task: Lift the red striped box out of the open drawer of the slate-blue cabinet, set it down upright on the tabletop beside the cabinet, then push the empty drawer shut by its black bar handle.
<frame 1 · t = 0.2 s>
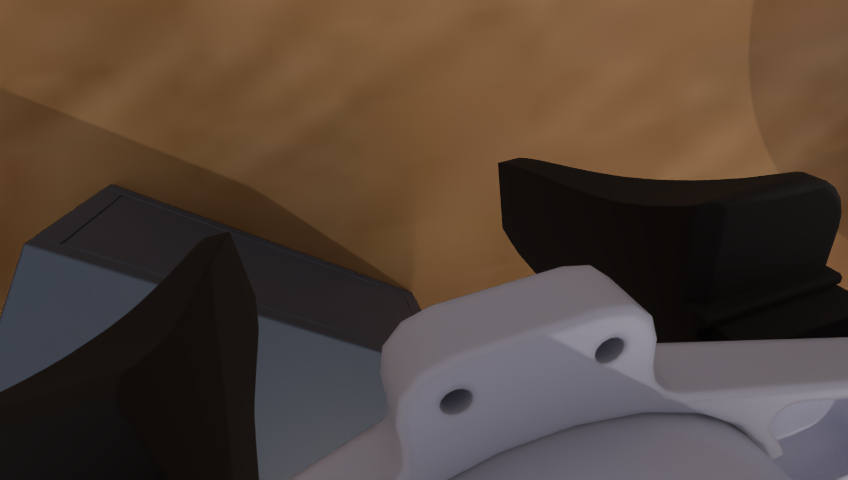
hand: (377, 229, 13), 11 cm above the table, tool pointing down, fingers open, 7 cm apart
cabinet: (230, 353, 25), on the table
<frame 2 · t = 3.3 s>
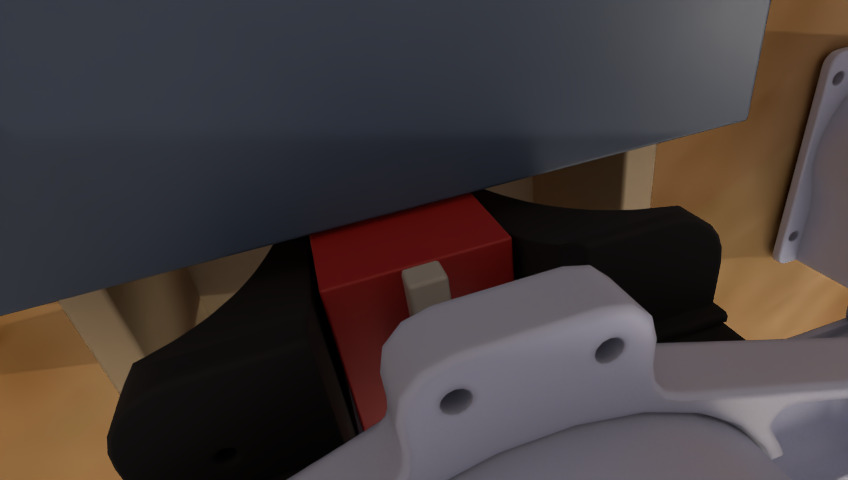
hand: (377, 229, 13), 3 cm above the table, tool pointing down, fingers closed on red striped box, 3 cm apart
drawer: (386, 266, 13), point 4 cm above the table, slide at 6.0 cm, touching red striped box
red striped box: (366, 205, 14), point 2 cm above the table, touching drawer, gripper
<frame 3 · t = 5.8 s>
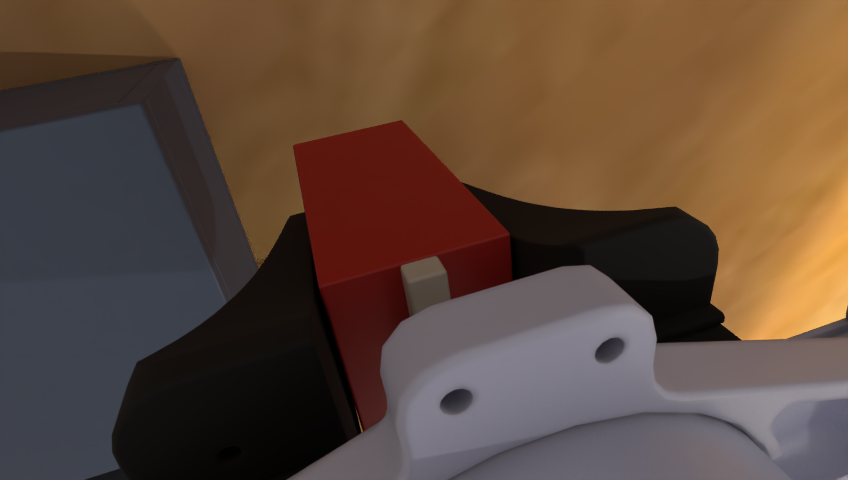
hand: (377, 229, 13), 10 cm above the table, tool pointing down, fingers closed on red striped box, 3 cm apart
drawer: (139, 456, 23), point 4 cm above the table, slide at 6.0 cm
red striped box: (365, 207, 14), point 9 cm above the table, touching gripper
cabinet: (60, 241, 21), on the table
when the fingers open (2 cm above the table, at t = 8.5 s): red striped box stays where it is, on the table.
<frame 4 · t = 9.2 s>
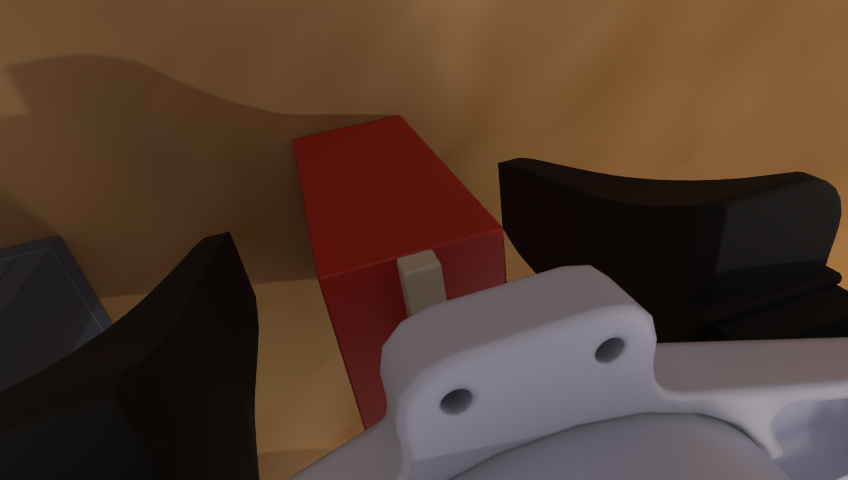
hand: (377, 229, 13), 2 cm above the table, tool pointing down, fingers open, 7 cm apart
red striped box: (364, 201, 15), on the table
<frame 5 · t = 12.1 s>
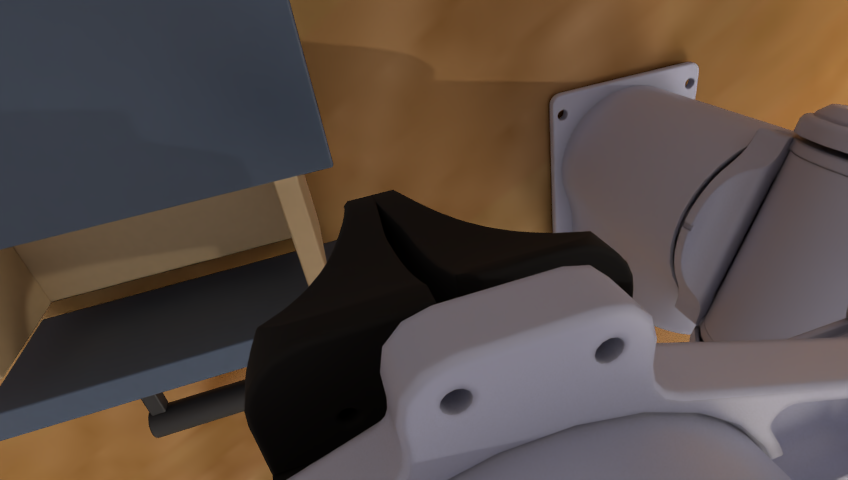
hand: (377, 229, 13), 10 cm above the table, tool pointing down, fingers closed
drawer: (160, 262, 19), point 4 cm above the table, slide at 6.0 cm
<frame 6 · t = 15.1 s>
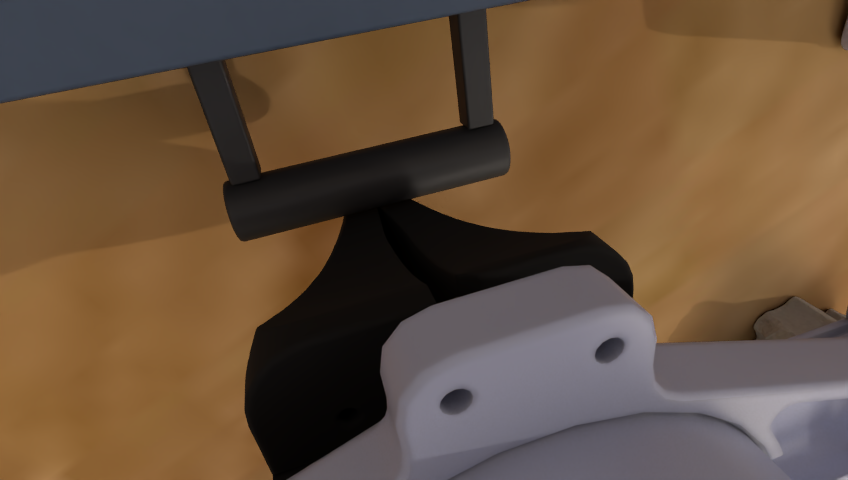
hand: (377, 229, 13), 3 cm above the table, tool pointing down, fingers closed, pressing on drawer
egg carton: (753, 375, 28), on the table
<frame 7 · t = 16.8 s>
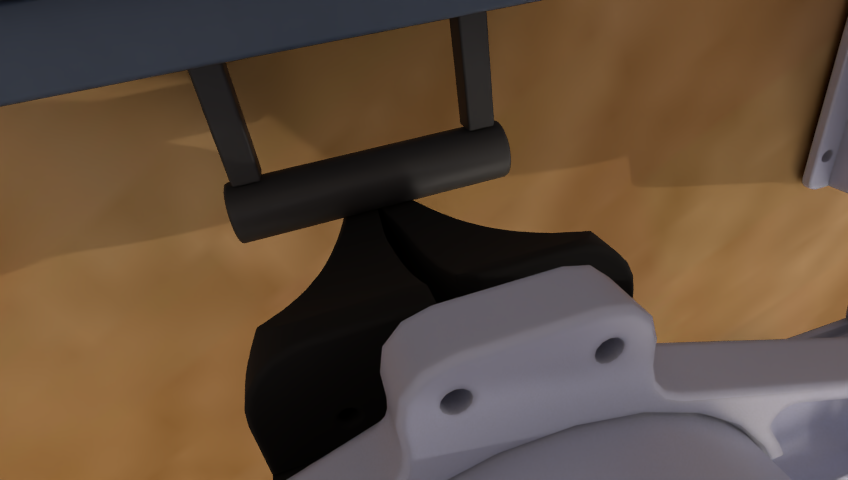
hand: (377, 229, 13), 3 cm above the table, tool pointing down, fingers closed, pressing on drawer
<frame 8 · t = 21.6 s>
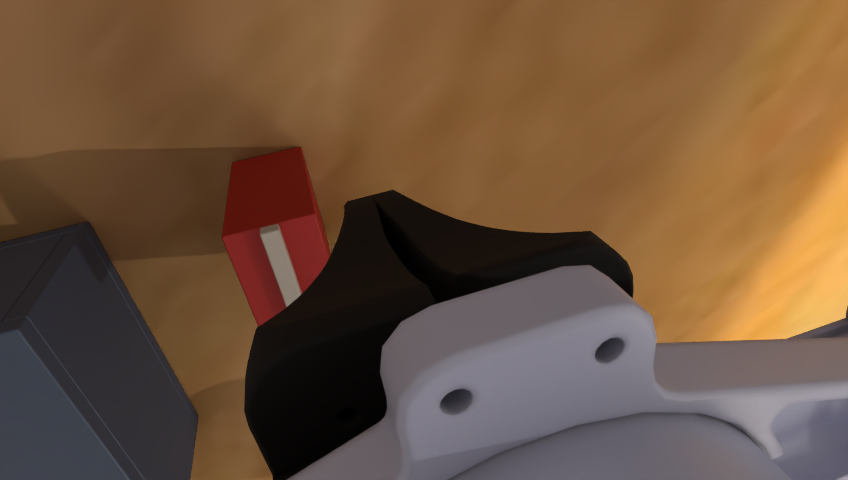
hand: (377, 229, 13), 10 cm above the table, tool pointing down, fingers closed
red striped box: (281, 200, 23), on the table
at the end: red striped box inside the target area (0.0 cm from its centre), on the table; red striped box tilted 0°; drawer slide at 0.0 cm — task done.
